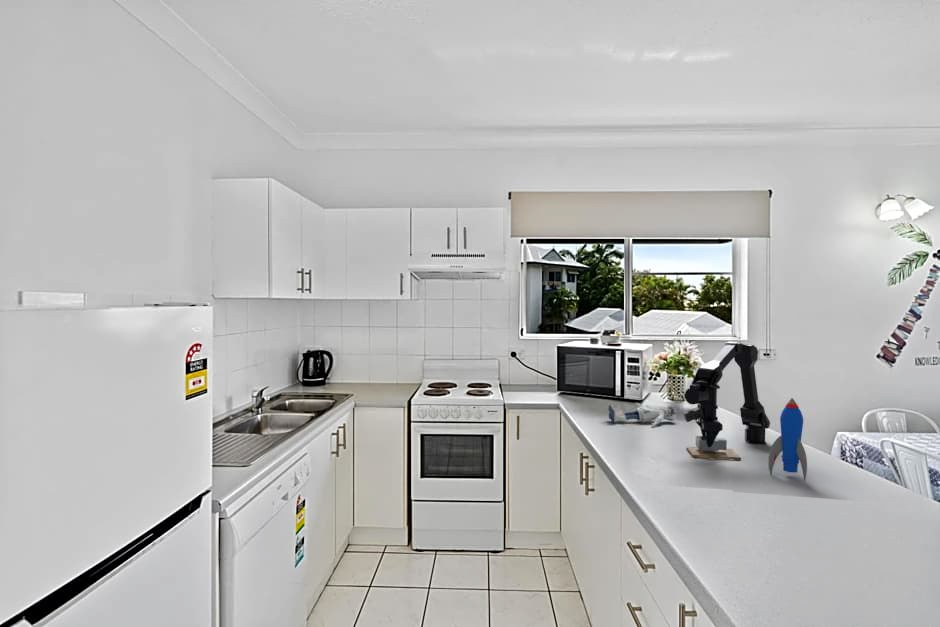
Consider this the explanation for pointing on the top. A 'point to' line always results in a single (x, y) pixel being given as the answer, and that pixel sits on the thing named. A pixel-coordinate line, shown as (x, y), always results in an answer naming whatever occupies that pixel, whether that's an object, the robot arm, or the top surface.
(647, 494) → the top surface
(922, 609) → the top surface
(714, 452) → the board
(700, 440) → the link
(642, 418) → the toy
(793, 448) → the toy rocket
